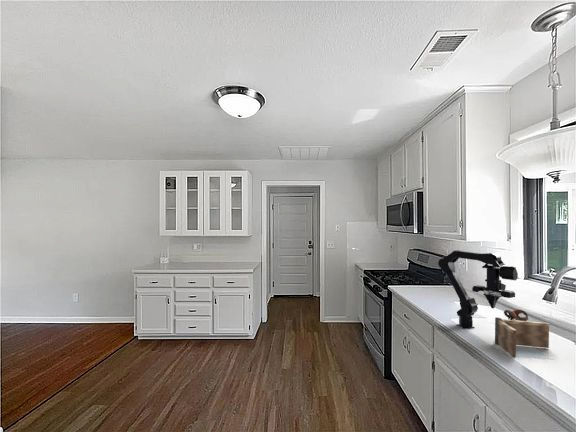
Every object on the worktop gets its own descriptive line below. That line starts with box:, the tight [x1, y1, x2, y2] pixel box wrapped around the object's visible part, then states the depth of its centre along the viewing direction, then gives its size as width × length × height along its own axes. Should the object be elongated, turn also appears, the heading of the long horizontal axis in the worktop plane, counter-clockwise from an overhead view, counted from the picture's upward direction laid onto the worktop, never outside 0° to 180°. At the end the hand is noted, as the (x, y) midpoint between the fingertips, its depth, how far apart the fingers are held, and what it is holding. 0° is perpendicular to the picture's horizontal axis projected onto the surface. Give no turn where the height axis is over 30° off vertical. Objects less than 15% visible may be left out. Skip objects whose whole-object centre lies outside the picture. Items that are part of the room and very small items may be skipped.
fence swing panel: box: [501, 318, 550, 349], centre depth 158 cm, size 19×1×11 cm, turn 77°
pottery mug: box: [503, 308, 529, 321], centre depth 199 cm, size 12×10×8 cm
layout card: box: [491, 341, 554, 361], centre depth 154 cm, size 17×17×1 cm
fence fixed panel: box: [494, 316, 517, 358], centre depth 154 cm, size 17×2×12 cm, turn 171°
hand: (492, 308), depth 176 cm, fingers closed
